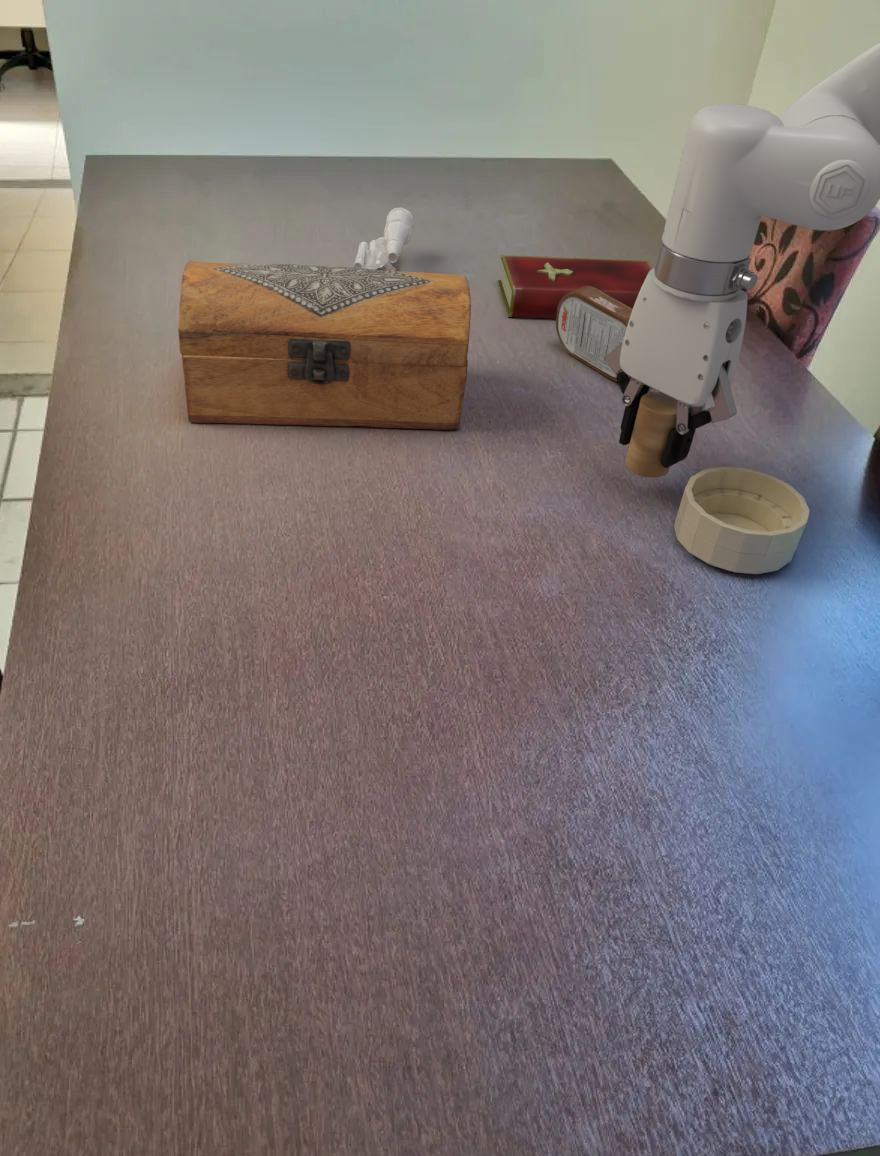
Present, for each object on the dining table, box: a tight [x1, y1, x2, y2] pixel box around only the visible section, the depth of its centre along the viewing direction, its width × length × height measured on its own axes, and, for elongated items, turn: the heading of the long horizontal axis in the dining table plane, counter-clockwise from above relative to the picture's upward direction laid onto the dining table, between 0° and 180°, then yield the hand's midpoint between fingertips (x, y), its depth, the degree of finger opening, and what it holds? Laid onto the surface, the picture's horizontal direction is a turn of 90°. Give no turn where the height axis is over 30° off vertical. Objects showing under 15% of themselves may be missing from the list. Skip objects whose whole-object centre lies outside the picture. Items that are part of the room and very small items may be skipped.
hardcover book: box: [497, 254, 655, 320], centre depth 133 cm, size 12×21×4 cm, turn 93°
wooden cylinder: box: [624, 391, 678, 479], centre depth 95 cm, size 4×4×7 cm
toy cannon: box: [352, 207, 415, 271], centre depth 137 cm, size 8×14×5 cm
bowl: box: [673, 466, 811, 575], centre depth 92 cm, size 11×11×5 cm
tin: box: [555, 286, 633, 383], centre depth 117 cm, size 15×3×8 cm, turn 34°
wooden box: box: [177, 260, 472, 431], centre depth 106 cm, size 30×16×14 cm, turn 91°
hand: (651, 449), depth 96 cm, fingers closed on wooden cylinder, 4 cm apart
